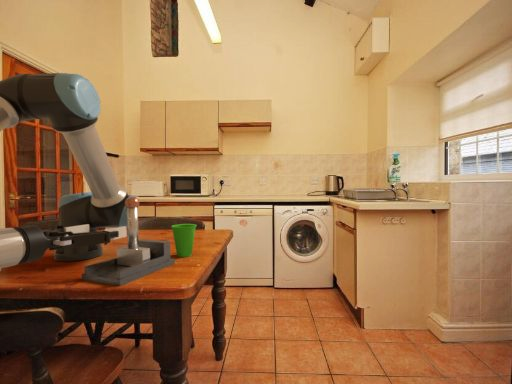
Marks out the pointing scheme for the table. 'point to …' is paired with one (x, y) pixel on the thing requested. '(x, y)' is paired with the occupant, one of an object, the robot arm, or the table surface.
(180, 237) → the cup
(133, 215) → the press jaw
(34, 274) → the table surface
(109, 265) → the base
